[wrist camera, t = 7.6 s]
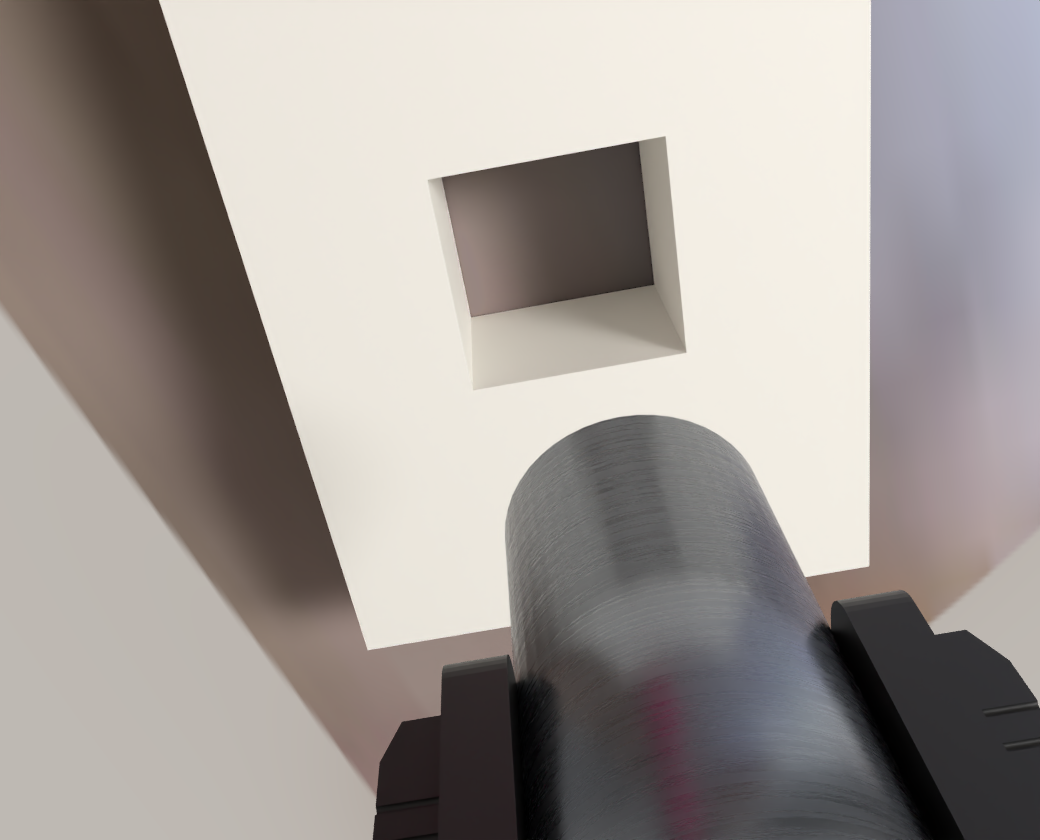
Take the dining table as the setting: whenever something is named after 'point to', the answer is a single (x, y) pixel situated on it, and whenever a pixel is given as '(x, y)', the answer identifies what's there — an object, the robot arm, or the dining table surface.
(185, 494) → the dining table surface
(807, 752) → the peg
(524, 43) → the hole block
